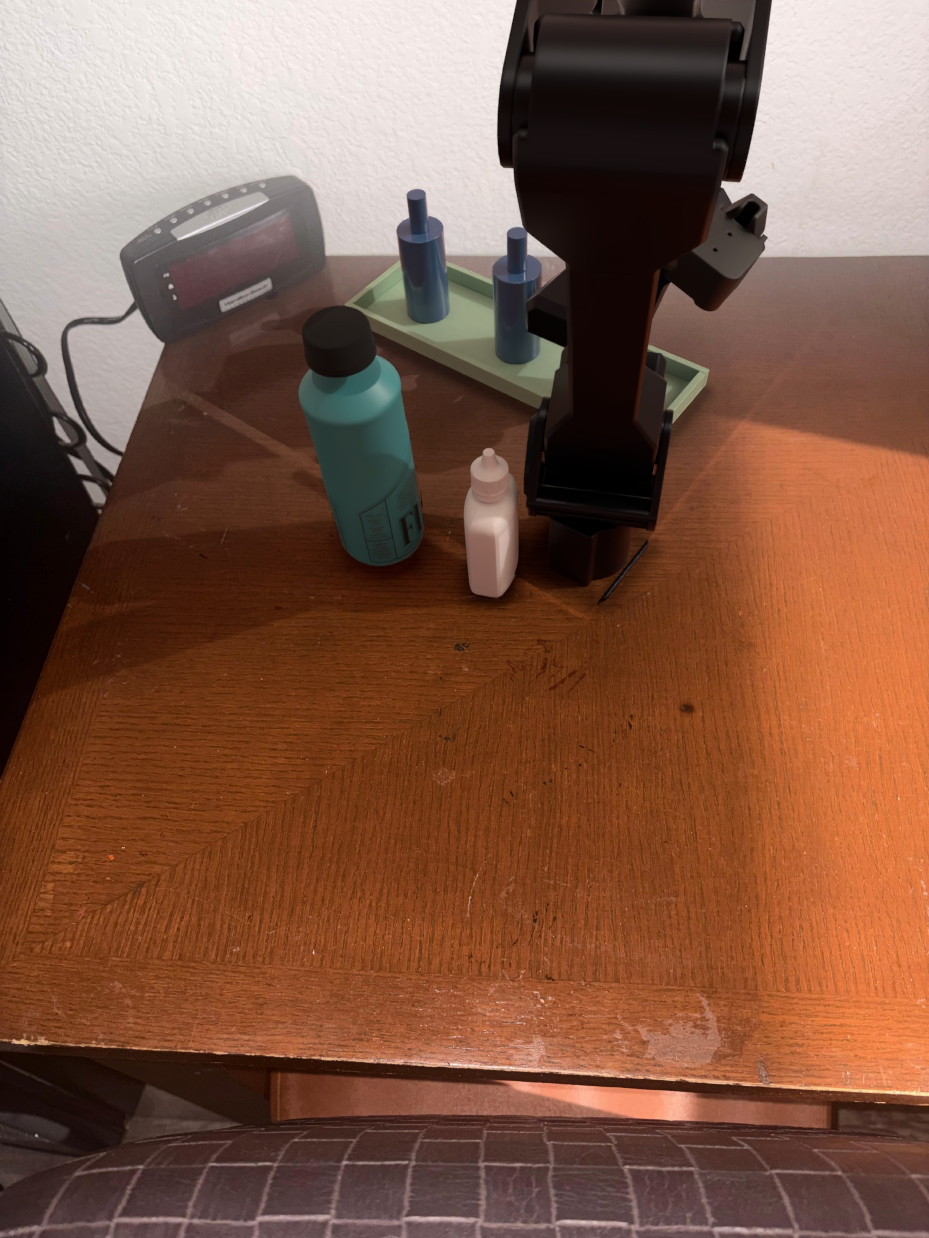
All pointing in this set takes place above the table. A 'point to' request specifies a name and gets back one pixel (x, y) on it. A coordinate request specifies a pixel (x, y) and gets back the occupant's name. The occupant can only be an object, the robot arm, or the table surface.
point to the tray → (490, 340)
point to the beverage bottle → (360, 437)
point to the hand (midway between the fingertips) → (620, 356)
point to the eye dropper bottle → (491, 525)
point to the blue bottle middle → (515, 300)
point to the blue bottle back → (423, 262)
